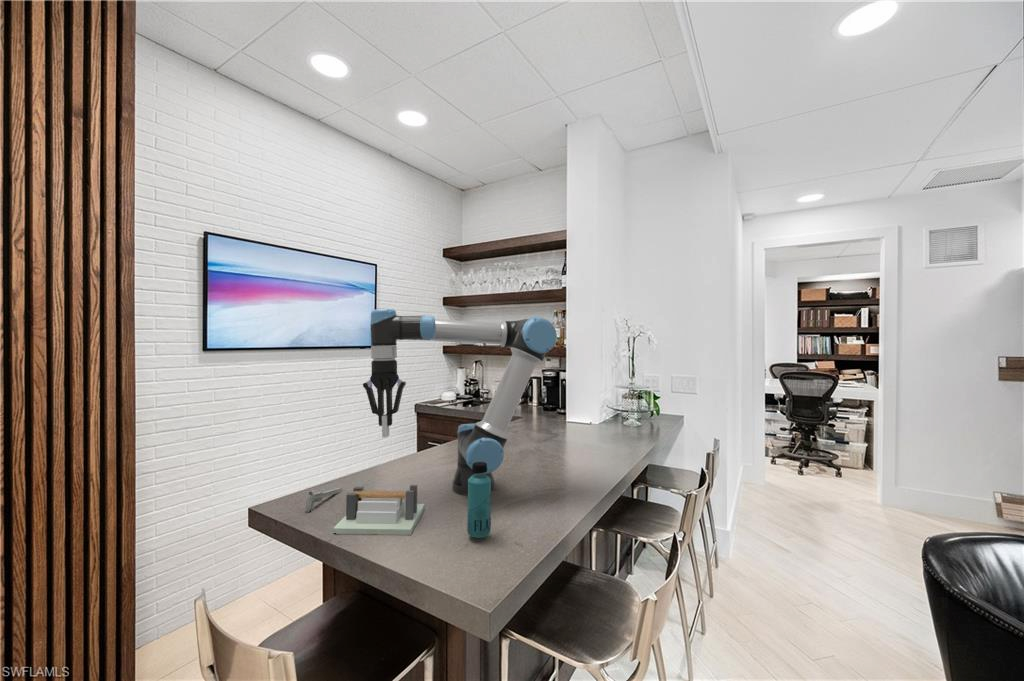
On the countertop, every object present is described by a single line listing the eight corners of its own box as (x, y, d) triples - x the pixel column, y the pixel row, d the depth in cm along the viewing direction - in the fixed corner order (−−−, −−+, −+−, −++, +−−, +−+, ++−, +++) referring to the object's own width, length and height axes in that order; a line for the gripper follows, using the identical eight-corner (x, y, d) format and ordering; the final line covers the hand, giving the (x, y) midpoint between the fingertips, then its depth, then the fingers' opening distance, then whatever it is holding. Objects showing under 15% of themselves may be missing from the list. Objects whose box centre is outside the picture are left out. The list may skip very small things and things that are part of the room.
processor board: (424, 508, 133) (425, 478, 133) (410, 535, 115) (411, 499, 115) (357, 507, 133) (357, 477, 133) (333, 533, 115) (333, 498, 115)
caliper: (309, 513, 128) (309, 493, 128) (305, 513, 128) (306, 492, 128) (343, 490, 149) (344, 472, 149) (340, 490, 149) (341, 472, 149)
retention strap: (415, 503, 125) (415, 490, 125) (412, 507, 122) (412, 494, 122) (355, 502, 125) (355, 489, 125) (351, 506, 122) (351, 493, 122)
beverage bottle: (471, 545, 109) (472, 467, 109) (463, 534, 115) (464, 461, 115) (494, 541, 112) (495, 465, 112) (485, 530, 118) (486, 458, 118)
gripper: (408, 358, 134) (409, 432, 134) (366, 359, 134) (368, 434, 134) (403, 359, 127) (404, 438, 127) (358, 360, 126) (360, 439, 126)
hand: (385, 436), depth 130 cm, fingers closed
